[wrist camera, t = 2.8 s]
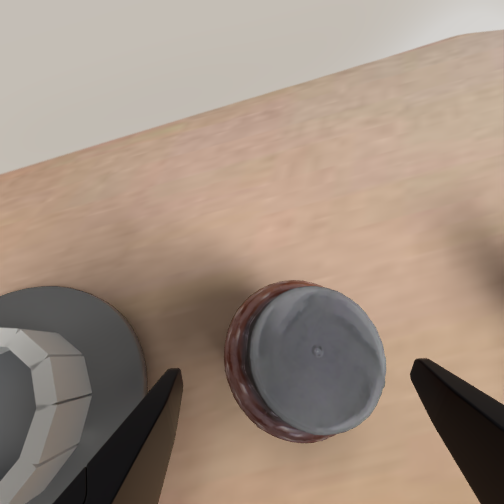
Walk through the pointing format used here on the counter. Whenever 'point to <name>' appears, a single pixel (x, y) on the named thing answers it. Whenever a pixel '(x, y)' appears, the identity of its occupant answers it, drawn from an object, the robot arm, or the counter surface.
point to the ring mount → (61, 387)
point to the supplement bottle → (304, 361)
